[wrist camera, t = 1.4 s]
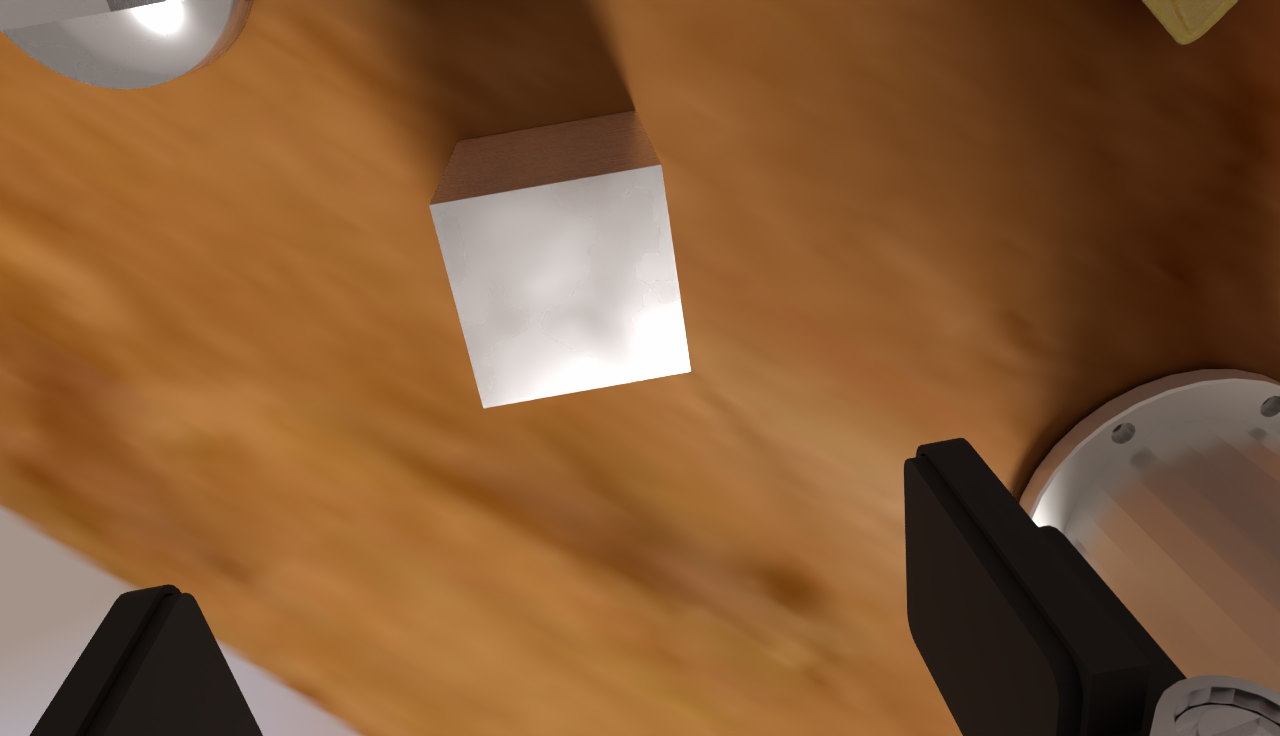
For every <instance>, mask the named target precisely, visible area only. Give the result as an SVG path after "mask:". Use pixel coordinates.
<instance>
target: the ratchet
mask: <svg viewBox="0 0 1280 736" xmlns="http://www.w3.org/2000/svg"><path fill="white" fill-rule="evenodd" d="M252 4H253V0H0V31H2V32H3V33H4V34H5V35H6V36H7V37H8V38H9V39H10V40H11V41H12V42H13V43H15V44H16V45H17V46H18V47H20V48H21V49H22V50H23V51H24V52H26V53H27V54H28V55H30V56H31V57H33V58H34V59H36V60H37V61H39V62H40V63H41V64H43V65H45V66H46V67H48V68H50V69H52V70H54V71H56V72H58V73H60V74H62V75H64V76H67V77H69V78H72V79H74V80H77V81H80V82H83V83H87V84H90V85H94V86H99V87H106V88H112V89H136V88H146V87H150V86H154V85H158V84H162V83H164V82H167V81H169V80H172V79H175V78H177V77H180V76H182V75H185V74H187V73H190V72H192V71H195V70H197V69H200V68H202V67H204V66H206V65H208V64H209V63H211V62H213V61H214V60H216V59H217V58H218V57H220V56H221V55H222V54H223V53H224V52H226V51H227V50H228V49H229V47H230V46H231V45H232V44H233V43H234V42H235V41H236V39H237V38H238V36H239V35H240V33H241V31H242V30H243V28H244V26H245V24H246V22H247V19H248V17H249V15H250V12H251V8H252Z"/></svg>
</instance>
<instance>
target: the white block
mask: <svg viewBox="0 0 1280 736" xmlns="http://www.w3.org/2000/svg"><path fill="white" fill-rule="evenodd" d="M429 206H430V210H431V214H432V217H433V221H434V225H435V229H436V232H437V236H438V240H439V244H440V247H441V251H442V255H443V259H444V262H445V266H446V270H447V274H448V277H449V281H450V285H451V289H452V292H453V296H454V300H455V304H456V307H457V311H458V315H459V319H460V322H461V326H462V330H463V334H464V337H465V341H466V345H467V349H468V352H469V356H470V360H471V364H472V367H473V371H474V375H475V379H476V382H477V386H478V390H479V394H480V397H481V401H482V405H483V408H488V407H494V406H499V405H505V404H511V403H516V402H522V401H528V400H533V399H539V398H544V397H550V396H556V395H561V394H567V393H572V392H578V391H584V390H589V389H595V388H600V387H606V386H612V385H617V384H623V383H629V382H634V381H640V380H645V379H651V378H657V377H662V376H668V375H673V374H679V373H685V372H690V371H691V369H690V362H689V355H688V348H687V341H686V334H685V327H684V320H683V313H682V306H681V299H680V292H679V285H678V278H677V271H676V264H675V257H674V250H673V243H672V236H671V229H670V222H669V215H668V208H667V201H666V194H665V187H664V180H663V173H662V167H661V163H660V161H659V159H658V157H657V155H656V152H655V150H654V148H653V146H652V144H651V142H650V140H649V138H648V136H647V133H646V131H645V129H644V127H643V125H642V123H641V121H640V119H639V116H638V114H637V112H636V110H634V111H628V112H622V113H616V114H611V115H605V116H599V117H593V118H588V119H582V120H576V121H570V122H565V123H559V124H553V125H548V126H542V127H536V128H530V129H525V130H519V131H513V132H507V133H502V134H496V135H490V136H485V137H479V138H473V139H467V140H462V141H458V142H457V144H456V147H455V149H454V151H453V153H452V156H451V158H450V160H449V162H448V164H447V167H446V169H445V171H444V173H443V176H442V178H441V180H440V182H439V185H438V187H437V189H436V191H435V194H434V196H433V198H432V200H431V202H430V205H429Z"/></svg>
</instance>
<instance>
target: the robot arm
mask: <svg viewBox="0 0 1280 736" xmlns="http://www.w3.org/2000/svg"><path fill="white" fill-rule="evenodd" d="M904 495H905V536H906V577H907V614H908V622H909V627H910V630H911V634H912V637H913V639H914V642H915V644H916V646H917V648H918V650H919V652H920V654H921V656H922V657H923V659H924V661H925V663H926V665H927V667H928V669H929V671H930V673H931V675H932V677H933V679H934V681H935V683H936V685H937V686H938V688H939V690H940V692H941V694H942V696H943V698H944V700H945V702H946V704H947V706H948V708H949V710H950V712H951V713H952V715H953V717H954V719H955V721H956V723H957V725H958V727H959V729H960V731H961V733H962V735H963V736H1280V382H1278V381H1276V380H1273V379H1271V378H1269V377H1267V376H1264V375H1262V374H1257V373H1252V372H1247V371H1242V370H1236V369H1202V370H1196V371H1191V372H1185V373H1180V374H1174V375H1170V376H1167V377H1164V378H1161V379H1158V380H1155V381H1152V382H1149V383H1146V384H1144V385H1141V386H1138V387H1136V388H1134V389H1132V390H1130V391H1128V392H1126V393H1124V394H1123V395H1121V396H1119V397H1117V398H1115V399H1113V400H1111V401H1109V402H1107V403H1106V404H1104V405H1103V406H1102V407H1100V408H1099V409H1097V410H1096V411H1095V412H1093V413H1092V414H1090V415H1089V416H1087V417H1086V418H1085V419H1083V420H1082V421H1080V422H1079V423H1078V424H1077V425H1076V426H1075V427H1074V428H1073V429H1072V430H1071V431H1070V432H1069V433H1067V434H1066V435H1065V436H1064V437H1063V438H1062V439H1061V440H1060V441H1059V442H1058V443H1057V444H1056V445H1055V446H1054V447H1053V449H1052V450H1051V451H1050V452H1049V454H1048V455H1047V456H1046V458H1045V459H1044V460H1043V461H1042V463H1041V464H1040V465H1039V467H1038V468H1037V469H1036V470H1035V472H1034V474H1033V476H1032V478H1031V480H1030V482H1029V483H1028V485H1027V487H1026V489H1025V491H1024V493H1023V494H1022V496H1021V499H1020V502H1019V503H1018V502H1017V501H1016V499H1015V498H1014V497H1013V496H1012V495H1011V493H1010V492H1009V491H1008V490H1007V488H1006V487H1005V486H1004V485H1003V484H1002V482H1001V481H1000V480H999V479H998V478H997V476H996V475H995V474H994V473H993V471H992V470H991V469H990V468H989V467H988V465H987V464H986V463H985V462H984V461H983V459H982V458H981V457H980V456H979V454H978V453H977V452H976V451H975V450H974V448H973V447H972V446H971V445H970V444H969V442H968V441H966V440H965V439H964V438H957V439H951V440H946V441H941V442H935V443H930V444H924V445H920V446H919V447H918V449H917V452H916V457H915V458H910V459H907V460H905V463H904ZM30 736H263V735H262V733H261V731H260V729H259V727H258V725H257V723H256V721H255V719H254V717H253V715H252V713H251V711H250V709H249V707H248V704H247V702H246V701H245V698H244V696H243V694H242V692H241V691H240V688H239V686H238V684H237V682H236V680H235V679H234V676H233V674H232V672H231V670H230V668H229V666H228V664H227V662H226V660H225V658H224V656H223V654H222V652H221V650H220V648H219V646H218V644H217V642H216V640H215V638H214V636H213V634H212V632H211V630H210V628H209V626H208V624H207V622H206V620H205V618H204V616H203V614H202V612H201V610H200V608H199V605H198V603H197V601H196V600H195V598H194V597H193V596H192V595H191V594H189V593H181V592H180V590H179V589H178V588H176V587H175V586H174V585H163V586H157V587H152V588H147V589H141V590H136V591H130V592H126V593H124V594H121V595H120V596H119V598H118V599H117V600H116V601H115V603H114V604H113V606H112V607H111V609H110V611H109V612H108V614H107V615H106V617H105V618H104V620H103V621H102V623H101V624H100V626H99V628H98V629H97V631H96V632H95V634H94V636H93V637H92V639H91V640H90V642H89V643H88V645H87V647H86V648H85V650H84V651H83V653H82V654H81V656H80V657H79V659H78V661H77V662H76V664H75V665H74V667H73V668H72V670H71V671H70V673H69V675H68V676H67V678H66V679H65V681H64V682H63V684H62V686H61V687H60V689H59V690H58V692H57V693H56V695H55V697H54V698H53V700H52V701H51V703H50V705H49V706H48V708H47V709H46V711H45V712H44V714H43V715H42V717H41V718H40V720H39V722H38V723H37V725H36V726H35V728H34V729H33V731H32V733H31V734H30Z"/></svg>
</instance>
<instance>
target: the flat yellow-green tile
mask: <svg viewBox="0 0 1280 736" xmlns="http://www.w3.org/2000/svg"><path fill="white" fill-rule="evenodd" d="M1237 1H1238V0H1142V2H1143V3H1144V4H1145V5H1146V6H1147V7H1148V8H1149V9H1150V11H1151V12H1152V13H1153V15H1154V16H1155V17H1156V18H1157V19H1158V20H1159V22H1160V23H1161V24H1162V25H1163V26H1164V27H1165V29H1166V30H1167V31H1168V32H1169V33H1170V35H1171V36H1172V37H1173V38H1174V39H1175V41H1176V42H1177V43H1179V44H1182V45H1185V44H1189V43H1191V42H1193V41H1195V40H1197V39H1198V38H1200V37H1201V36H1202V35H1204V34H1205V33H1206V32H1207V31H1208V30H1209V29H1210V28H1211V27H1212V26H1213V25H1214V24H1215V23H1216V22H1217V21H1219V20H1220V19H1221V18H1222V17H1223V15H1224V14H1225V13H1226V12H1227V11H1228V10H1229V9H1230V8H1231V7H1232V6H1233V5H1235V3H1236V2H1237Z"/></svg>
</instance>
